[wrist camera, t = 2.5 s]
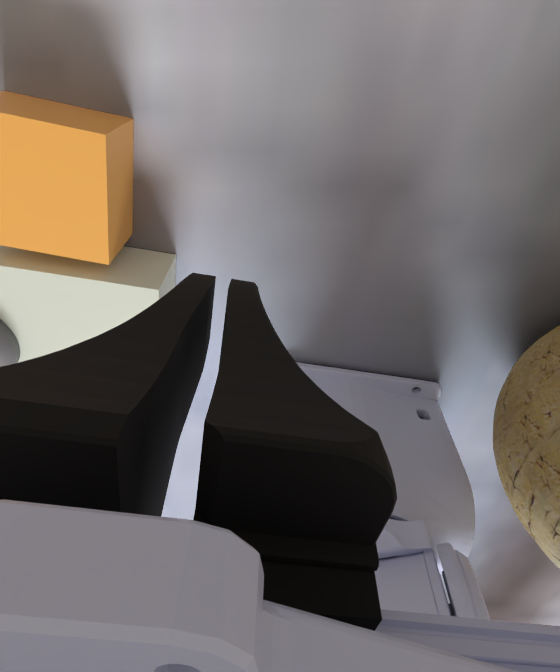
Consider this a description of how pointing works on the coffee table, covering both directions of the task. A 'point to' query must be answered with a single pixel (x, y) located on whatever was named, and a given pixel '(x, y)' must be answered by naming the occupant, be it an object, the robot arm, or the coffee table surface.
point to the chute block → (64, 178)
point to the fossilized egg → (532, 441)
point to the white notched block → (73, 297)
